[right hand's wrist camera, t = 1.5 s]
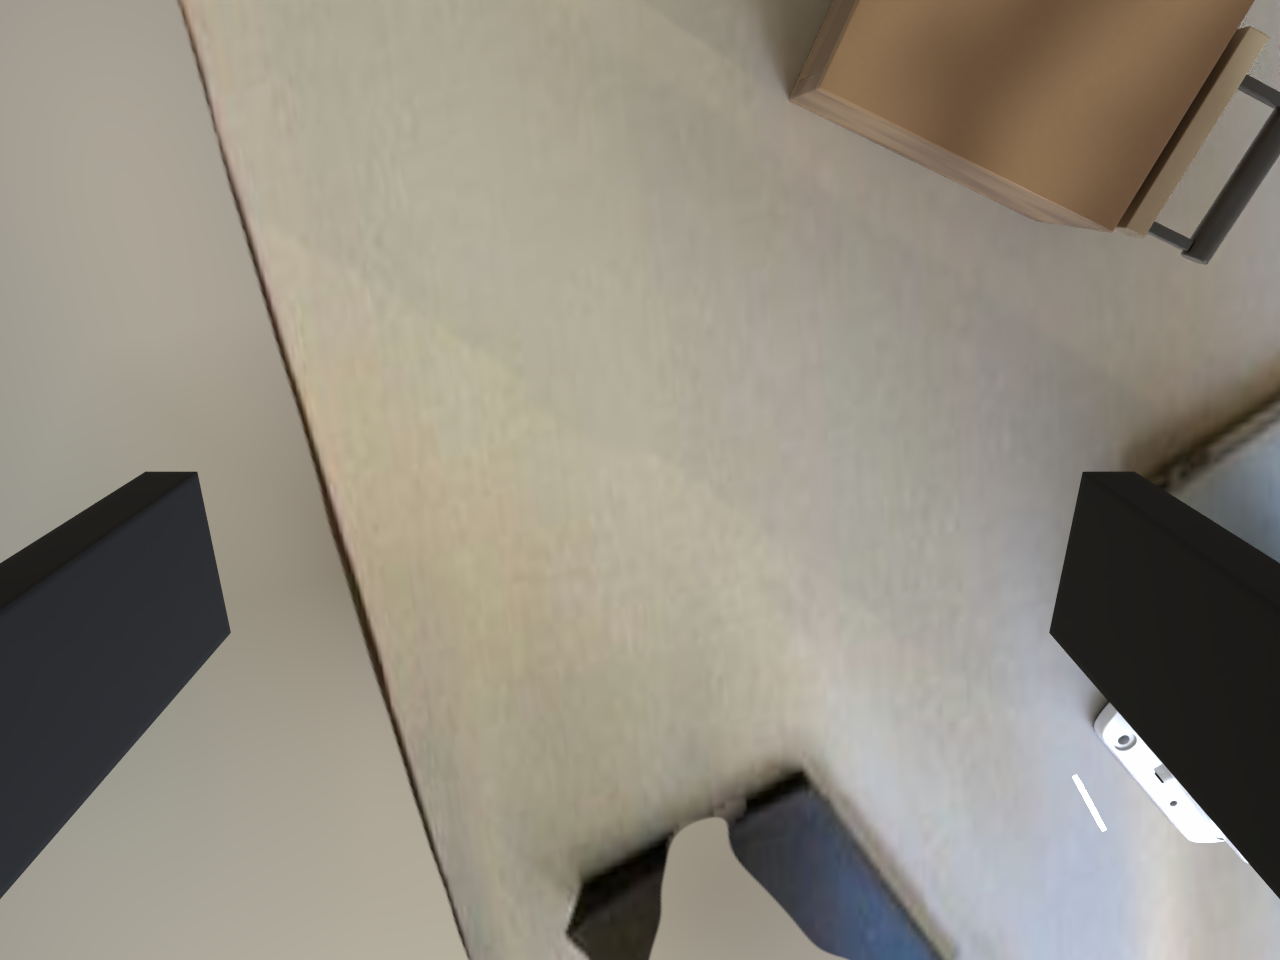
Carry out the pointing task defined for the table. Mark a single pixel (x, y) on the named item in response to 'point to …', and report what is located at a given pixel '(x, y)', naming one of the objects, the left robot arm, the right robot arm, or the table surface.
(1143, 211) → the drawer
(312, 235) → the table surface
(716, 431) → the table surface
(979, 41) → the cabinet
